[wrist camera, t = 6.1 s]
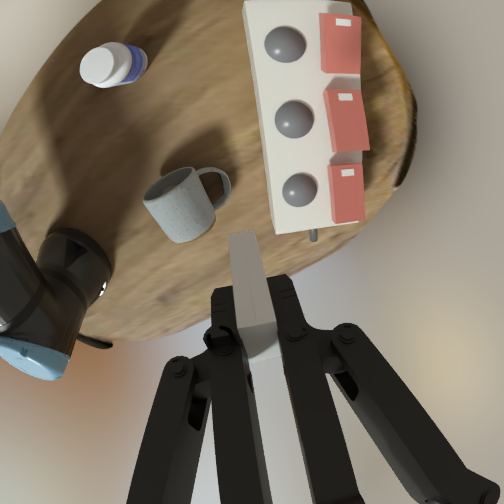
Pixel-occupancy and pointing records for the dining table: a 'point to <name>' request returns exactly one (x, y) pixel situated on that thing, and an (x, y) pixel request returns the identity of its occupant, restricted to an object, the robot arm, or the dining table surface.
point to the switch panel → (295, 108)
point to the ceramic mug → (184, 203)
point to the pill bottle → (113, 65)
